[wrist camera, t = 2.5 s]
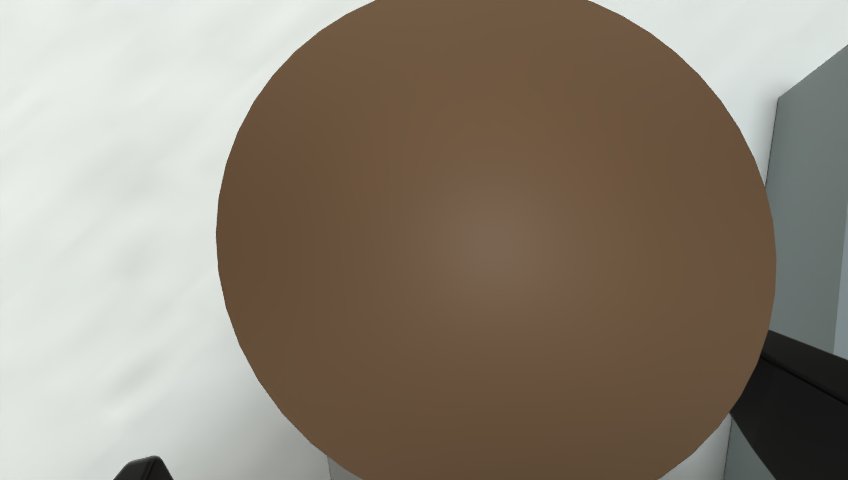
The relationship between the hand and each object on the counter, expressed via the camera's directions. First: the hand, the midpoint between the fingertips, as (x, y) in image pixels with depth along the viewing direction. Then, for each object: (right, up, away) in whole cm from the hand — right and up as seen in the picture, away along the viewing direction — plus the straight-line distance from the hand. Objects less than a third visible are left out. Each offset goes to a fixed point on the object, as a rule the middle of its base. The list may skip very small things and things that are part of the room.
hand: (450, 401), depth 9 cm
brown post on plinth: (-1, -1, +9) cm, 9 cm away
